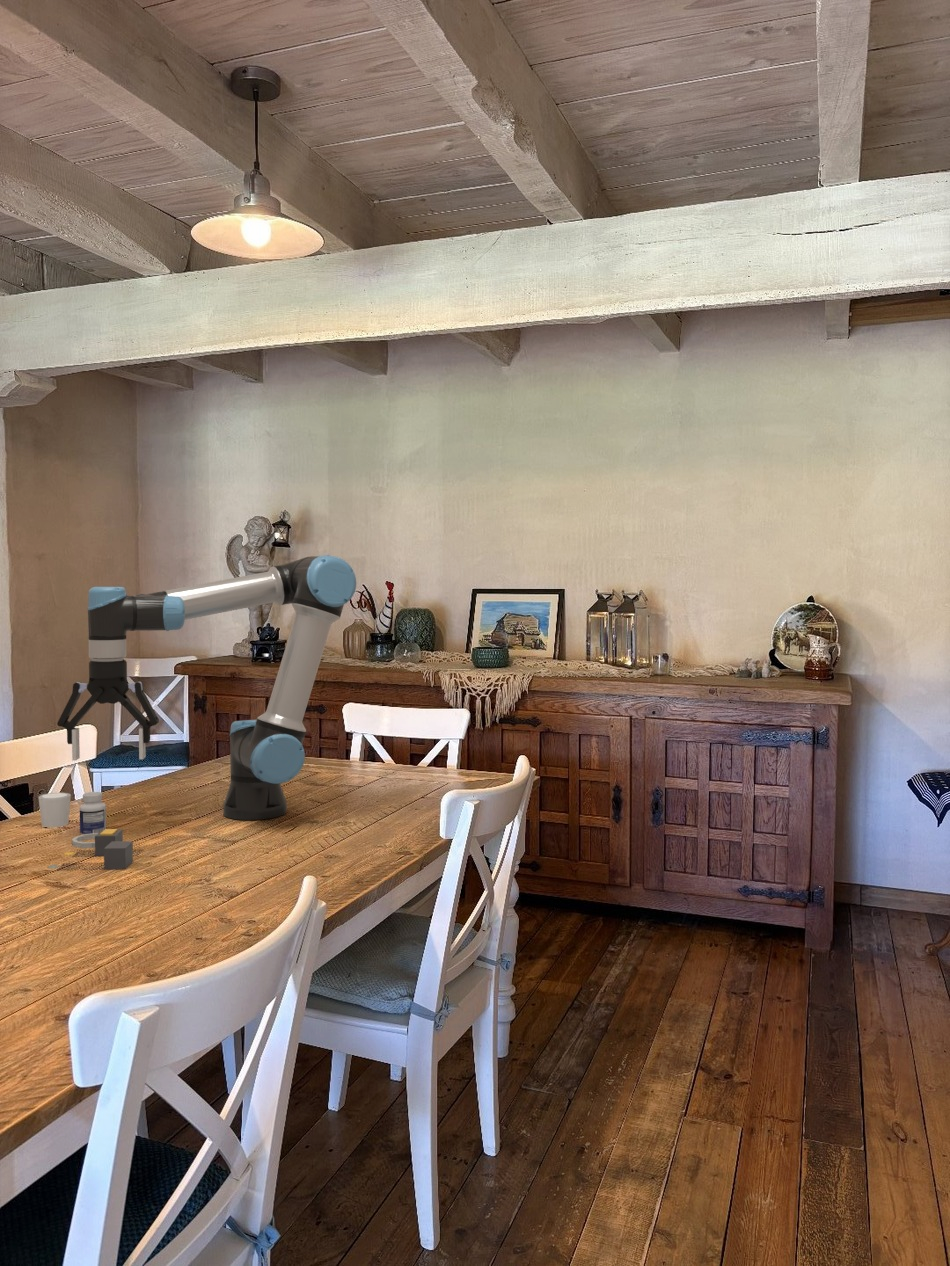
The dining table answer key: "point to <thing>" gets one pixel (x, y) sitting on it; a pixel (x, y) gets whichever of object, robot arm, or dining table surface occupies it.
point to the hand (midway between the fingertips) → (109, 758)
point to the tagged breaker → (106, 839)
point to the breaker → (118, 855)
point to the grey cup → (54, 809)
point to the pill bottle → (92, 813)
